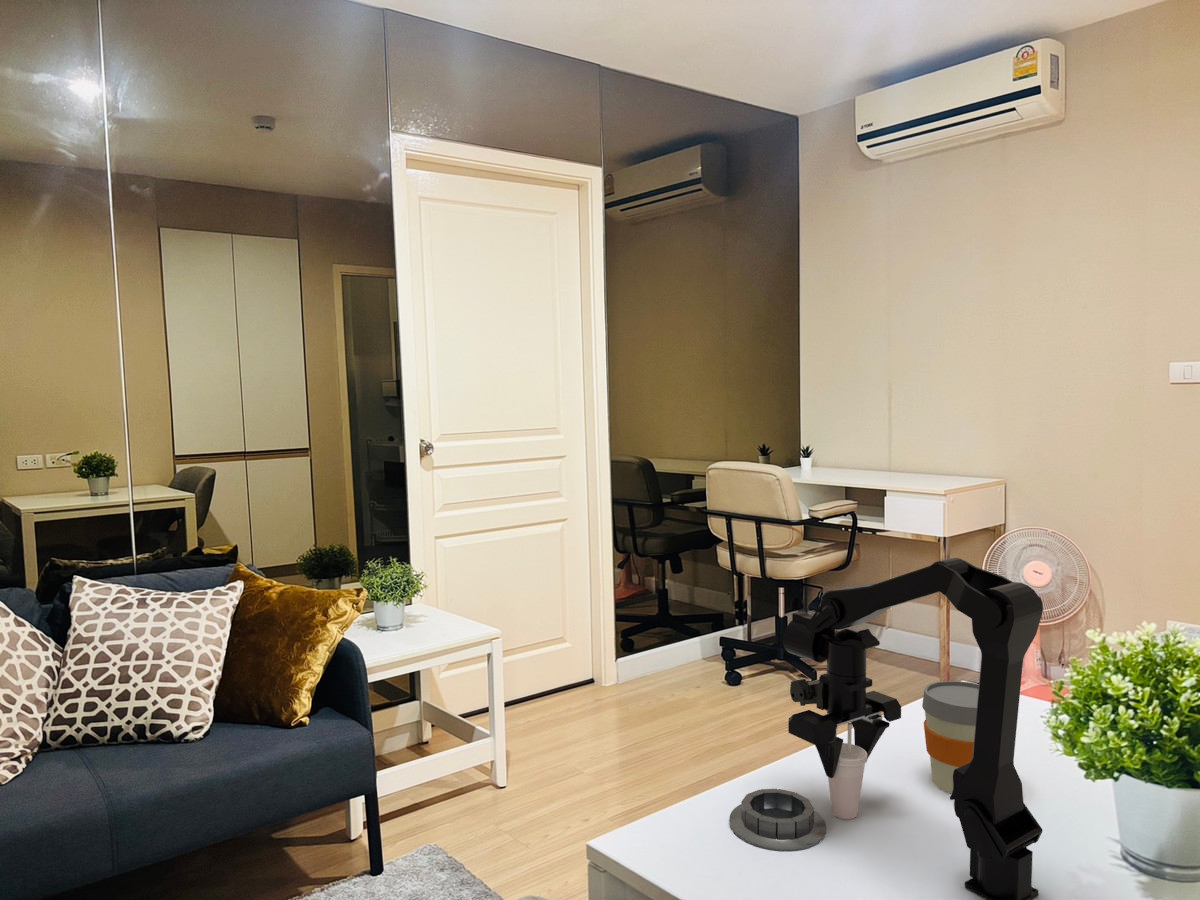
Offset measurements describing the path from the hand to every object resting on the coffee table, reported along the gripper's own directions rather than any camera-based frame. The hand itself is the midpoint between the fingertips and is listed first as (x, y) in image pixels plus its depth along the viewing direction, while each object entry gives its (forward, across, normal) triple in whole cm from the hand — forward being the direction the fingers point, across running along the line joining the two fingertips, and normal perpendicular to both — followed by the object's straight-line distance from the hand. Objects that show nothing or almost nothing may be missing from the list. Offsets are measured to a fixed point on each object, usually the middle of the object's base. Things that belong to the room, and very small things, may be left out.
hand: (845, 771), depth 132 cm
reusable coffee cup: (+7, -23, +4) cm, 24 cm away
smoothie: (+7, 0, 0) cm, 7 cm away
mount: (+6, +11, -3) cm, 13 cm away
